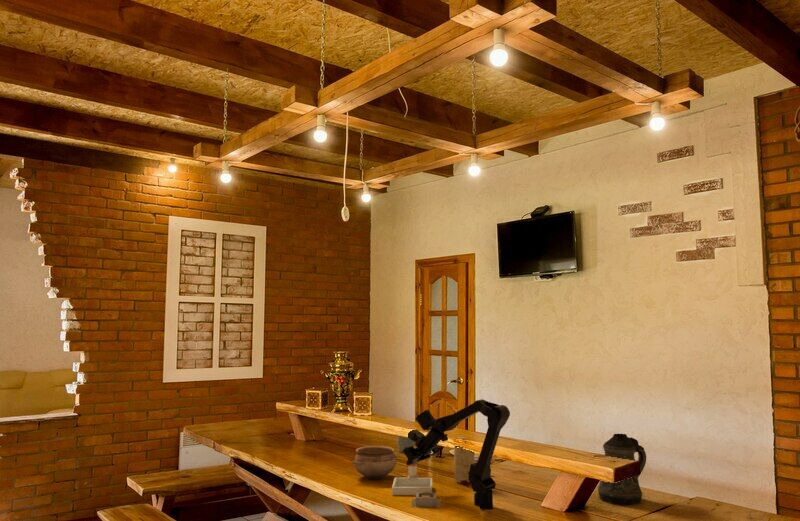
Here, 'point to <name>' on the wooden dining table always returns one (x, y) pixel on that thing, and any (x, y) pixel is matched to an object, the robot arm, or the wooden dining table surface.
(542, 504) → the wooden dining table surface
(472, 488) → the robot arm
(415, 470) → the fuse
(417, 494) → the fuse block
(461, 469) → the food model
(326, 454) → the wooden dining table surface
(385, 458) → the cooking pot
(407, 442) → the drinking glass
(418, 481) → the tray
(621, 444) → the black jug
